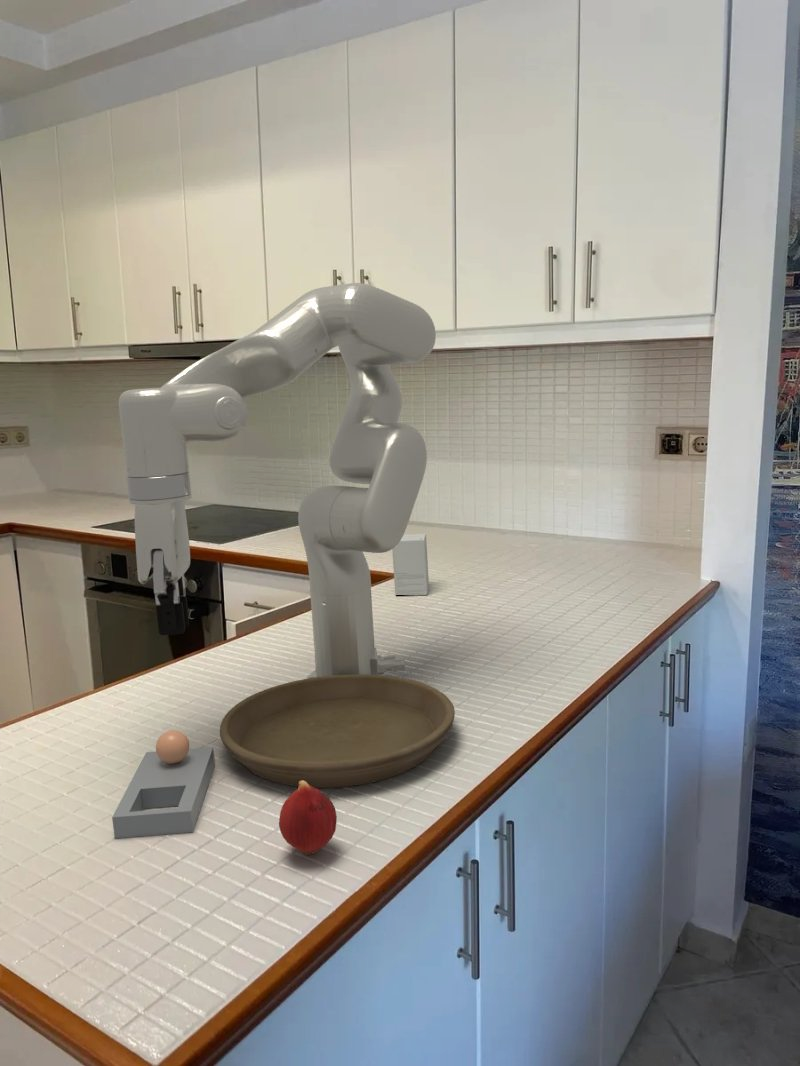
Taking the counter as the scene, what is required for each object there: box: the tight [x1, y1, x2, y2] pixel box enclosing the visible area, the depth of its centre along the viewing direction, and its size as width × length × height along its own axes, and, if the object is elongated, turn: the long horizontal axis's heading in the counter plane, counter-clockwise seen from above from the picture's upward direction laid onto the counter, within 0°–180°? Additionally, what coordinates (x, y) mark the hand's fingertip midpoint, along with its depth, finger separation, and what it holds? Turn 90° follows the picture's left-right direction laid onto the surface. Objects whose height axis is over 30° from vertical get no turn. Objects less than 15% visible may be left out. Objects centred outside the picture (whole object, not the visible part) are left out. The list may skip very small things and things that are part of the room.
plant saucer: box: [219, 674, 456, 789], centre depth 111 cm, size 31×31×5 cm
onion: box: [278, 780, 338, 856], centre depth 85 cm, size 6×6×8 cm
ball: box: [155, 729, 190, 764], centre depth 102 cm, size 4×4×4 cm
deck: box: [111, 746, 216, 839], centre depth 98 cm, size 8×16×2 cm, turn 4°
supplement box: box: [391, 533, 430, 596], centre depth 186 cm, size 7×7×13 cm
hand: (174, 629), depth 107 cm, fingers closed
